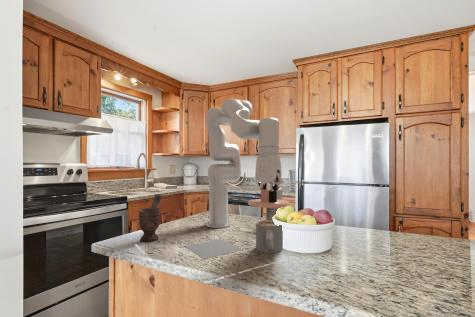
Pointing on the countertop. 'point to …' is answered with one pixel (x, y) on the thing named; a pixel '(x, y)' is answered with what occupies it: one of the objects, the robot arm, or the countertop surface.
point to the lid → (267, 201)
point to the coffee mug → (269, 237)
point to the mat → (212, 248)
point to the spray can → (272, 211)
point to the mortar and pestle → (150, 220)
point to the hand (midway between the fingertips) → (268, 200)
